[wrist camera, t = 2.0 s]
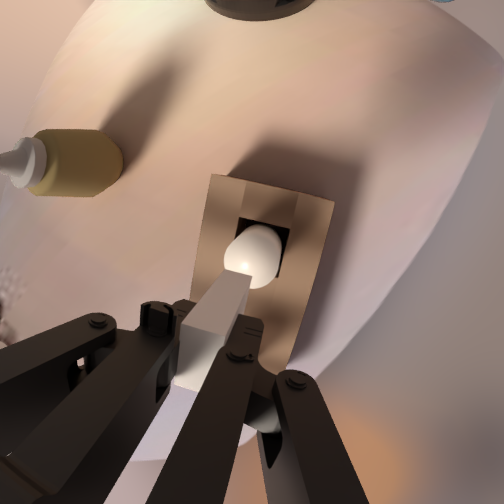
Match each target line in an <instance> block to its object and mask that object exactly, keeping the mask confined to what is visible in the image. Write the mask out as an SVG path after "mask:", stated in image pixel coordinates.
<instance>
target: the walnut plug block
mask: <svg viewBox="0 0 504 504" xmlns="http://www.w3.org/2000/svg"><path fill="white" fill-rule="evenodd" d="M334 204H335V202H334V201H331V200H329V199H326V198H322V197H318V196H314V195H310V194H306V193H302V192H298V191H294V190H290V189H285V188H281V187H277V186H272V185H268V184H264V183H259V182H254V181H250V180H245V179H240V178H235V177H230V176H225V175H217V174H211V179H210V184H209V189H208V194H207V199H206V204H205V209H204V215H203V220H202V226H201V231H200V237H199V242H198V248H197V254H196V260H195V266H194V273H193V279H192V285H191V292H190V299H189V301H192V302H196V303H198V302H199V300H200V299H201V298H202V297H203V295H204V294H205V293H206V292H207V290H208V289H209V288H210V287H211V286H212V284H213V283H214V282H215V281H216V279H217V278H218V277H219V276H220V274H221V273H222V272H223V271H224V269H225V267H224V255H225V252H226V250H227V248H228V246H229V245H230V244H231V243H232V242H233V241H234V240H235V239H236V238H237V237H238V236H239V235H240V234H241V233H242V232H243V231H244V230H245V227H246V222H247V219H251V220H255V221H260V222H264V223H268V224H272V225H277V226H281V227H285V228H289V231H288V235H287V239H286V243H285V247H284V251H283V255H282V259H281V261H280V262H279V267H278V271H277V274H276V276H275V277H274V279H273V280H272V281H271V282H270V283H269V284H267V285H265V286H263V287H260V288H256V289H249V293H248V297H247V302H246V306H245V310H244V315H247V316H251V317H255V318H259V319H261V320H262V322H263V324H264V330H263V335H262V340H261V344H260V349H259V353H258V361H259V363H260V364H261V366H262V367H263V368H265V369H266V370H267V371H269V372H271V373H273V374H275V375H278V373H279V372H281V371H284V370H285V369H286V366H287V363H288V360H289V358H290V355H291V352H292V349H293V346H294V343H295V340H296V337H297V334H298V331H299V328H300V325H301V322H302V318H303V315H304V312H305V309H306V306H307V302H308V299H309V296H310V293H311V289H312V286H313V282H314V279H315V276H316V272H317V269H318V265H319V262H320V258H321V254H322V251H323V247H324V243H325V240H326V236H327V232H328V228H329V224H330V221H331V217H332V213H333V209H334Z"/></svg>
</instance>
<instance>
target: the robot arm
mask: <svg viewBox="0 0 504 504" xmlns="http://www.w3.org/2000/svg"><path fill="white" fill-rule="evenodd" d="M312 1H313V0H205V2H206V3H207V5H208V6H209V7H210V8H212V9H213V10H214V11H216V12H217V13H219V14H221V15H223V16H226V17H229V18H233V19H237V20H243V21H268V20H274V19H279V18H283V17H287V16H290V15H292V14H295V13H297V12H299V11H301V10H302V9H304V8H305V7H307V6H308V5H309V4H310V3H311V2H312ZM432 1H436V2H450V1H453V0H432ZM251 280H252V276H250V275H246V274H242V273H238V272H234V271H231V270H227V269H224V271H223V272H222V273H221V274H220V276H219V277H218V278H217V279H216V281H215V282H214V283H213V284H212V286H211V287H210V288H209V289H208V290H207V292H206V293H205V294H204V295H203V297H202V298H201V299H200V300H199V302H198V303H196V302H192V301H189V300H185V299H183V300H180V301H177V302H175V303H174V304H173V305H170V304H167V303H164V302H159V301H150V302H145V303H143V304H141V312H140V326H139V327H138V328H137V329H135V330H134V331H129V330H123V329H117V323H116V320H115V319H114V318H113V317H112V316H110V315H107V314H104V313H90V314H86V315H84V316H81V317H79V318H77V319H74V320H72V321H69V322H67V323H64V324H62V325H59V326H57V327H54V328H52V329H49V330H47V331H44V332H42V333H39V334H37V335H35V336H32V337H30V338H27V339H25V340H22V341H20V342H17V343H15V344H12V345H10V346H7V347H5V348H3V349H0V504H103V503H104V502H105V500H106V498H107V497H108V495H109V493H110V492H111V490H112V488H113V486H114V485H115V483H116V481H117V480H118V478H119V476H120V475H121V473H122V471H123V470H124V468H125V466H126V465H127V463H128V461H129V460H130V458H131V456H132V455H133V453H134V451H135V450H136V448H137V446H138V444H139V443H140V441H141V439H142V438H143V436H144V434H145V433H146V431H147V429H148V428H149V426H150V424H151V423H152V421H153V419H154V417H155V416H156V414H157V412H158V411H159V409H160V407H161V406H162V404H163V402H164V401H165V399H166V397H167V396H168V394H169V391H170V385H171V380H172V379H173V377H174V376H175V382H174V384H175V385H178V386H181V387H184V388H187V389H190V390H193V391H196V392H199V393H198V395H197V397H196V399H195V401H194V403H193V405H192V408H191V410H190V412H189V414H188V416H187V418H186V420H185V422H184V424H183V427H182V429H181V431H180V433H179V435H178V437H177V439H176V441H175V443H174V445H173V447H172V450H171V452H170V454H169V456H168V458H167V460H166V462H165V464H164V466H163V468H162V470H161V473H160V475H159V477H158V479H157V481H156V483H155V485H154V487H153V489H152V491H151V493H150V495H149V497H148V499H147V501H146V503H145V504H223V502H224V497H225V494H226V490H227V486H228V482H229V479H230V475H231V471H232V467H233V463H234V459H235V455H236V451H237V447H238V443H239V439H240V435H241V431H242V427H243V423H244V424H246V425H248V426H250V427H252V428H254V429H256V430H257V440H258V446H259V452H260V458H261V464H262V470H263V476H264V482H265V487H266V493H267V499H268V504H369V502H368V500H367V497H366V495H365V493H364V490H363V488H362V486H361V483H360V481H359V479H358V476H357V474H356V472H355V470H354V467H353V465H352V463H351V461H350V458H349V456H348V453H347V451H346V449H345V447H344V445H343V442H342V440H341V438H340V435H339V433H338V431H337V428H336V426H335V424H334V422H333V419H332V417H331V415H330V413H329V410H328V408H327V406H326V404H325V401H324V399H323V397H322V394H321V392H320V390H319V388H318V385H317V383H316V382H315V380H314V379H313V378H312V377H311V376H309V375H308V374H306V373H304V372H302V371H298V370H284V371H281V372H279V373H278V375H275V374H273V373H271V372H269V371H267V370H266V369H265V368H263V367H262V366H261V364H260V363H259V361H258V353H259V349H260V344H261V340H262V335H263V330H264V324H263V322H262V320H261V319H259V318H255V317H251V316H247V315H244V310H245V306H246V302H247V297H248V293H249V289H250V284H251ZM81 358H84V365H82V366H78V365H77V360H79V359H81ZM10 453H11V454H10ZM8 454H10V455H8ZM7 455H8V456H7Z"/></svg>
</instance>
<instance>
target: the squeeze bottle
mask: <svg viewBox="0 0 504 504" xmlns="http://www.w3.org/2000/svg"><path fill="white" fill-rule="evenodd" d="M122 169H123V156H122V152H121V150H120V148H119V147H118V146H117V145H116V144H115V143H114V142H113V141H112V140H111V139H110V138H109V137H108V136H107V135H106V134H105V133H103V132H100V131H97V130H83V129H46V130H42V131H39V132H38V133H37V134H36V135H35V136H34V137H32V138H30V137H25V138H22V139H20V140H19V141H18V142H17V143H16V144H15V146H14V148H13V150H12V151H9V152H6V153H3V154H0V174H5V175H9V176H10V179H11V181H12V183H13V185H14V186H16V187H17V188H28V190H29V191H30V192H31V193H33V194H34V195H36V196H61V197H94V196H96V195H97V194H99V193H101V192H102V191H104V190H105V189H107V188H108V187H109V186H111V185H112V184H114V183H115V182H116V180H117V179H118V178H119V177H120V174H121V171H122Z"/></svg>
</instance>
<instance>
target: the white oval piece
mask: <svg viewBox="0 0 504 504" xmlns="http://www.w3.org/2000/svg"><path fill="white" fill-rule="evenodd" d="M281 250H282V241H281V238H280V236H279V234H278V233H277V231H276V230H275V229H273V228H272V227H270V226H268V225H265V224H255V225H252V226H250V227H248V228H246V229H245V230H244V231H243V232H242V233H241V234H240V235H239V236H238V237H237V238H236V239H235V240H234V241H233V242H232V243H231V244H230V245H229V246H228V248H227V250H226V252H225V255H224V267H225V269H227V270H231V271H234V272H238V273H242V274H246V275H250V276H252V280H251V284H250V289H256V288H260V287H263V286H265V285H267V284H269V283H270V282H271V281H272V280H273V279H274V277H275V276H276V274H277V271H278V267H279V262H280V256H281Z"/></svg>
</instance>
